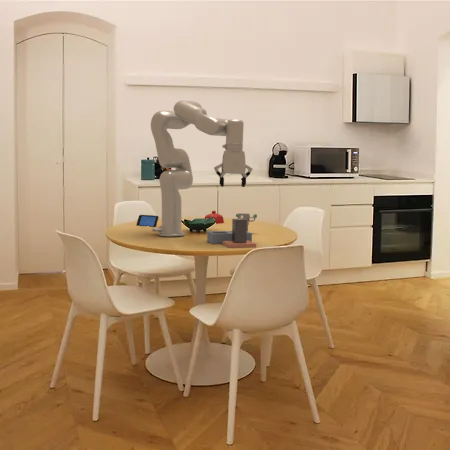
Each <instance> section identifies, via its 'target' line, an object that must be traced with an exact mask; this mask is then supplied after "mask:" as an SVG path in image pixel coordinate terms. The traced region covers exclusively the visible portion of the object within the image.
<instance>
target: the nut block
mask: <svg viewBox="0 0 450 450" xmlns="http://www.w3.org/2000/svg"><path fill="white" fill-rule="evenodd" d="M231 223H232V224H231V228H232V229H231V231H232V242H234V243H246V237H247V220H246V219H238V218H232V221H231Z"/></svg>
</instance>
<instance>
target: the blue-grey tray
mask: <svg viewBox="0 0 450 450" xmlns="http://www.w3.org/2000/svg"><path fill="white" fill-rule="evenodd" d="M206 235H207V238H206V239H207V242H208V243H210V244H211V245H223V241H232V230H217V231H216V230H209V231H207V233H206ZM252 238H253V232H250V231H249V230H248V231H247V237H246V241H247V240H249V241H251V242H253V240H252Z"/></svg>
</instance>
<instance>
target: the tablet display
mask: <svg viewBox="0 0 450 450" xmlns="http://www.w3.org/2000/svg"><path fill="white" fill-rule="evenodd" d="M159 218H160V217H159V216H158V215H154V214H153V215H151V214H150V215H149V214H139V216H138V219H137V222H136V225H135V226H136V227H137V226H138V227H147V226H149V227H151V228H154V227H156V228H157V224H158V222H159V221H158V220H159ZM149 227H148V228H149Z"/></svg>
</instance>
